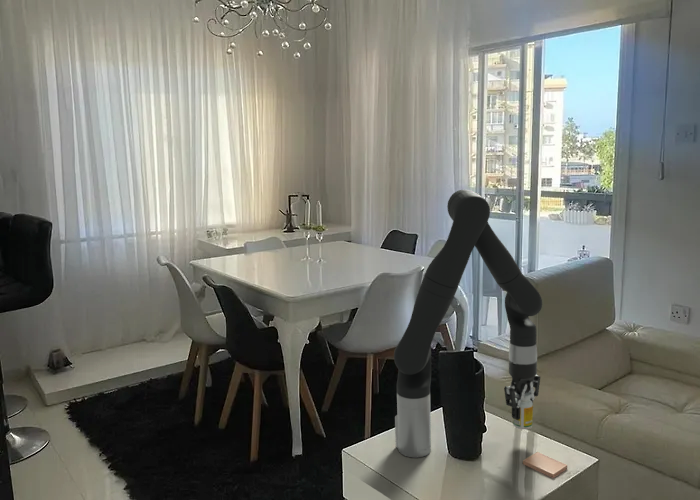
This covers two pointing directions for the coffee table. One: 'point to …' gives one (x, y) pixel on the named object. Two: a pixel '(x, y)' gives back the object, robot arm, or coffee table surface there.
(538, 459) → the tile
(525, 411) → the supplement bottle
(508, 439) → the coffee table surface
